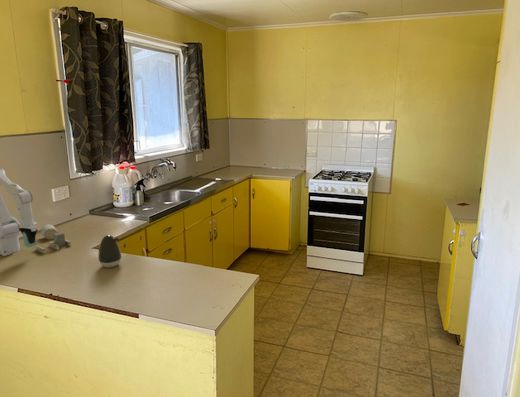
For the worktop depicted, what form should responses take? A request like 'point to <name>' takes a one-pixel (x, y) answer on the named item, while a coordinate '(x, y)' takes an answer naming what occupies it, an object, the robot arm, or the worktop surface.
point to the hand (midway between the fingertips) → (30, 242)
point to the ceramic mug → (48, 231)
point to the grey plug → (59, 239)
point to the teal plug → (28, 241)
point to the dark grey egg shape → (109, 252)
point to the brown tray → (52, 247)
